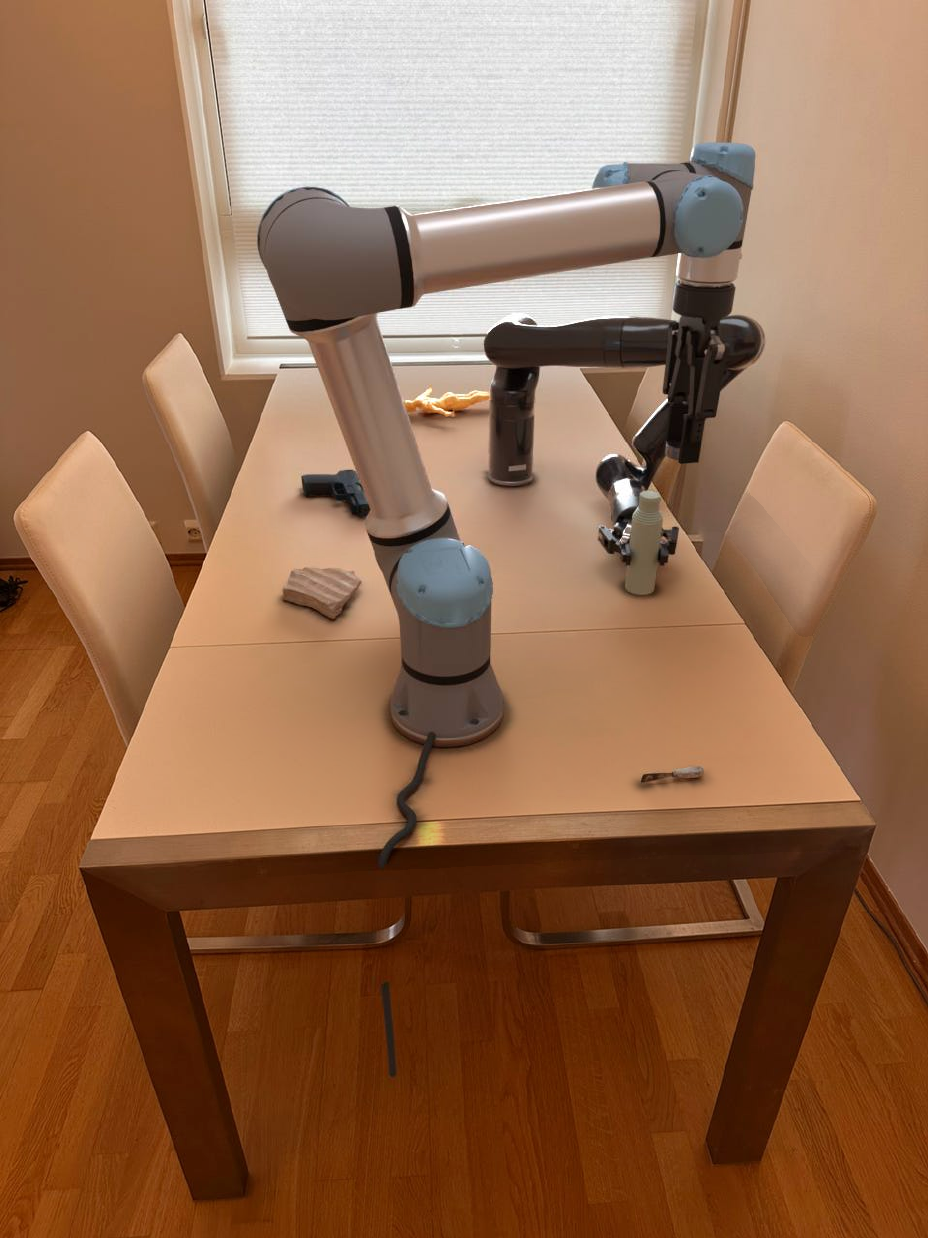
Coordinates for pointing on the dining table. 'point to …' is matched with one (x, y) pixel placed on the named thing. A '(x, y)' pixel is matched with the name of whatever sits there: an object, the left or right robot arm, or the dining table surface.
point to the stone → (321, 589)
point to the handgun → (338, 489)
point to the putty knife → (674, 774)
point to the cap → (673, 448)
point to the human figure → (445, 402)
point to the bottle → (644, 544)
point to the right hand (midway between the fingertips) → (645, 560)
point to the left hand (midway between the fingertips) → (680, 455)
